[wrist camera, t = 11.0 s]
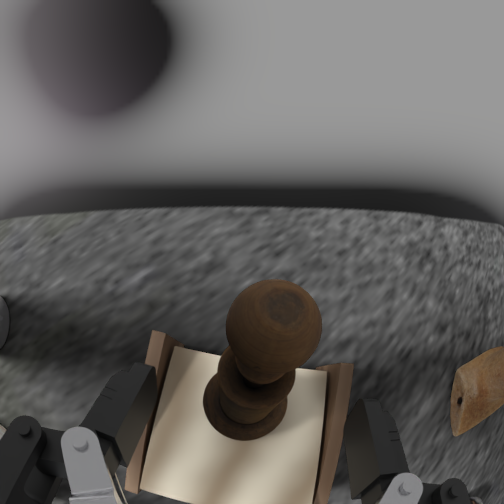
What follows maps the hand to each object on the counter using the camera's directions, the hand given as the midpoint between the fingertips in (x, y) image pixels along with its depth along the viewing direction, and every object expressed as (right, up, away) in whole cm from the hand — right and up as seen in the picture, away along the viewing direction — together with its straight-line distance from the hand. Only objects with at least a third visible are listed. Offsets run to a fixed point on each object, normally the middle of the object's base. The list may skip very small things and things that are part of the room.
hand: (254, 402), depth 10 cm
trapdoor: (-2, -13, +15) cm, 20 cm away
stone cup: (+32, -13, +19) cm, 40 cm away
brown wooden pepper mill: (-1, -7, +12) cm, 14 cm away
